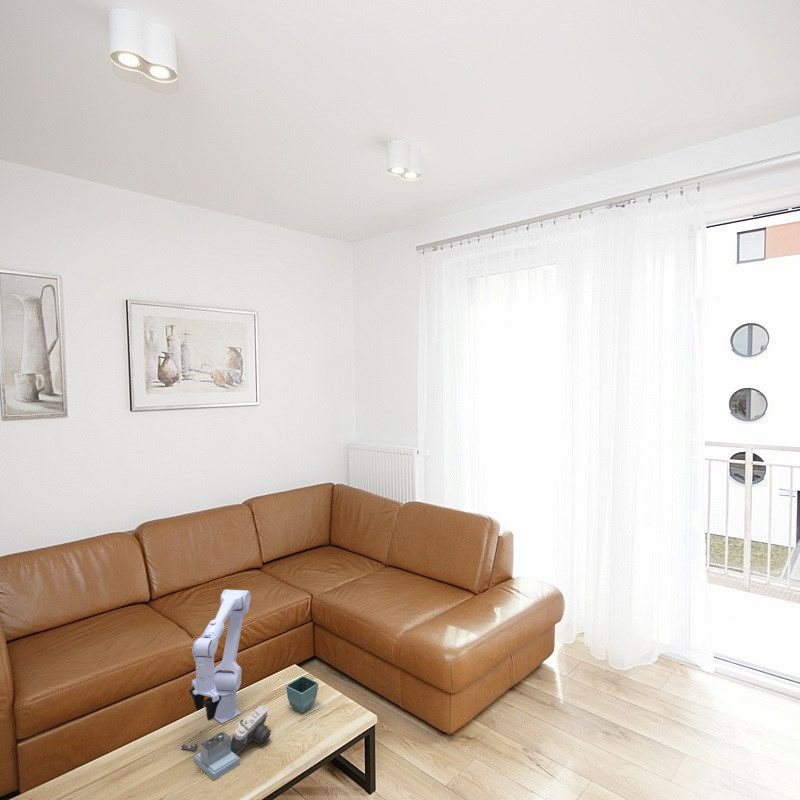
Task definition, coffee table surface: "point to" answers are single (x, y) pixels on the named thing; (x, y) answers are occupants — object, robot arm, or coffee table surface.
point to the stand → (218, 765)
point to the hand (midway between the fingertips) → (205, 713)
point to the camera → (251, 730)
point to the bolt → (190, 747)
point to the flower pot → (302, 693)
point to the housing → (215, 748)
